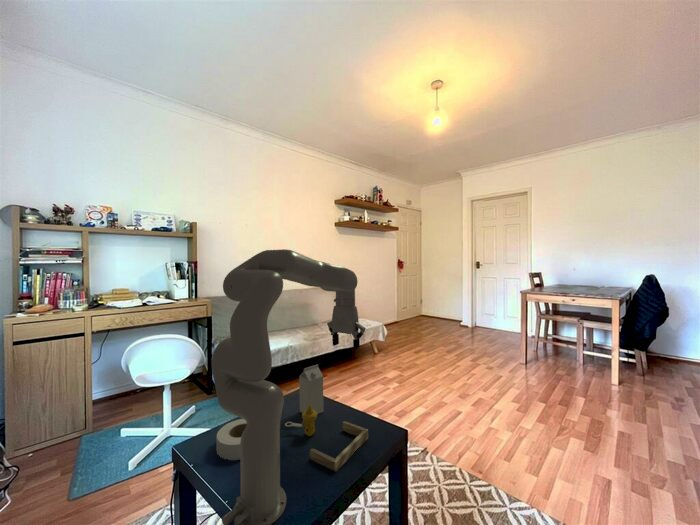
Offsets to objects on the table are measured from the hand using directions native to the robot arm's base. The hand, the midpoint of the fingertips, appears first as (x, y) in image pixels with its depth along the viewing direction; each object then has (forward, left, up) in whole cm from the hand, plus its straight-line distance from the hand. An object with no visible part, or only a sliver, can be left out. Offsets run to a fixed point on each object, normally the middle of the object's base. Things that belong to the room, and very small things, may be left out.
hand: (345, 346), depth 108 cm
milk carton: (-1, +17, -30) cm, 34 cm away
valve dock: (-13, -6, -30) cm, 33 cm away
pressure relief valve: (-14, +10, -30) cm, 35 cm away
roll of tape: (-30, +23, -30) cm, 48 cm away
